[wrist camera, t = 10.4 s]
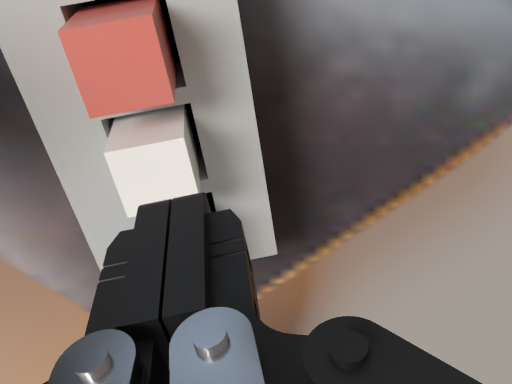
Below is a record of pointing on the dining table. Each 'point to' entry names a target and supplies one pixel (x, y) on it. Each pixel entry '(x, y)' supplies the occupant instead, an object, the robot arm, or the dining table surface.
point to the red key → (120, 56)
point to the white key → (152, 157)
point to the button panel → (186, 91)
